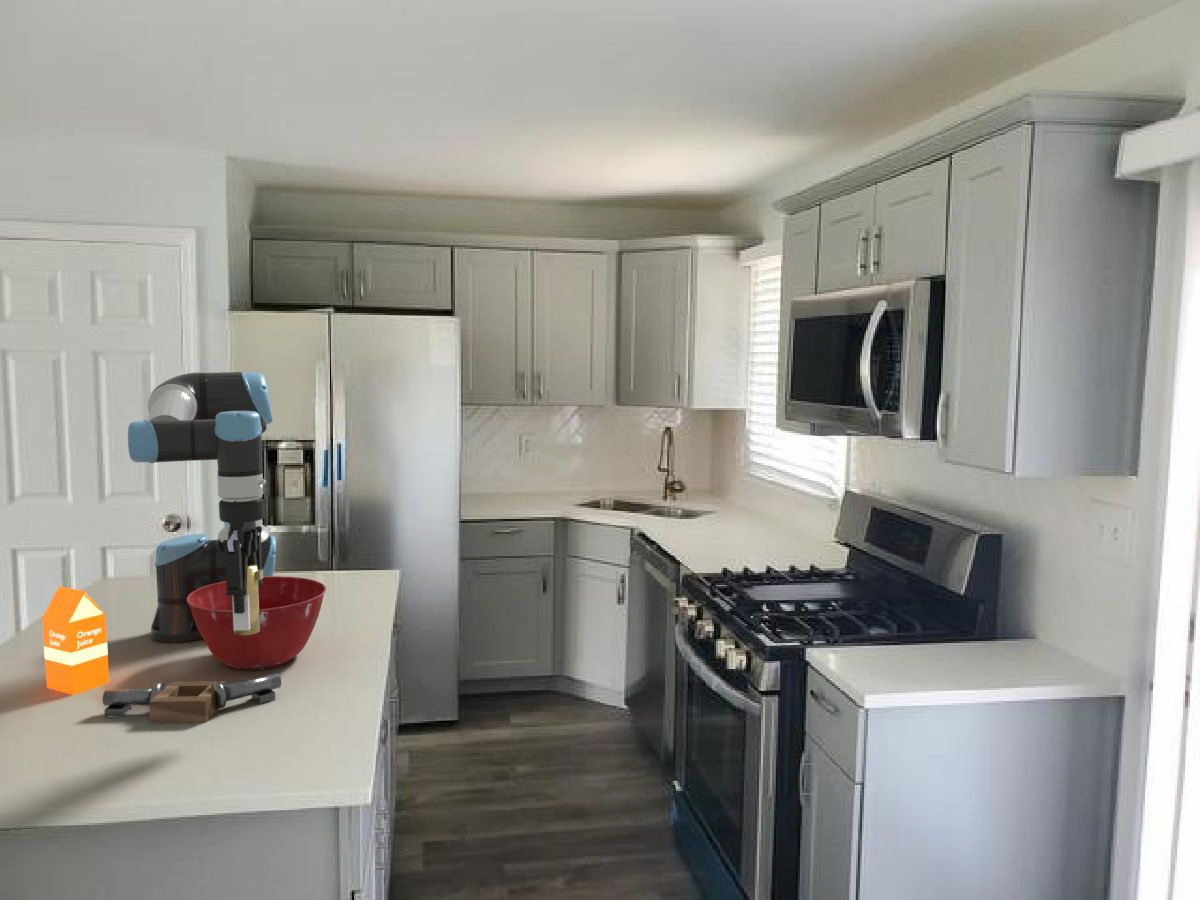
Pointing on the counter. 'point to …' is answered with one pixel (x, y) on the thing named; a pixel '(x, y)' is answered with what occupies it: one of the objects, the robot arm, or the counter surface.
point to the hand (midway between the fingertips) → (246, 625)
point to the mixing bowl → (282, 621)
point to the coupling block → (184, 702)
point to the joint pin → (253, 599)
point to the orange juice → (74, 642)
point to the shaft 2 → (247, 689)
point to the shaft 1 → (128, 699)
